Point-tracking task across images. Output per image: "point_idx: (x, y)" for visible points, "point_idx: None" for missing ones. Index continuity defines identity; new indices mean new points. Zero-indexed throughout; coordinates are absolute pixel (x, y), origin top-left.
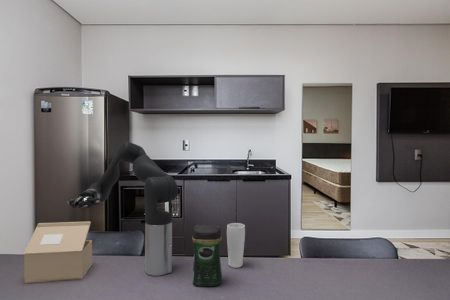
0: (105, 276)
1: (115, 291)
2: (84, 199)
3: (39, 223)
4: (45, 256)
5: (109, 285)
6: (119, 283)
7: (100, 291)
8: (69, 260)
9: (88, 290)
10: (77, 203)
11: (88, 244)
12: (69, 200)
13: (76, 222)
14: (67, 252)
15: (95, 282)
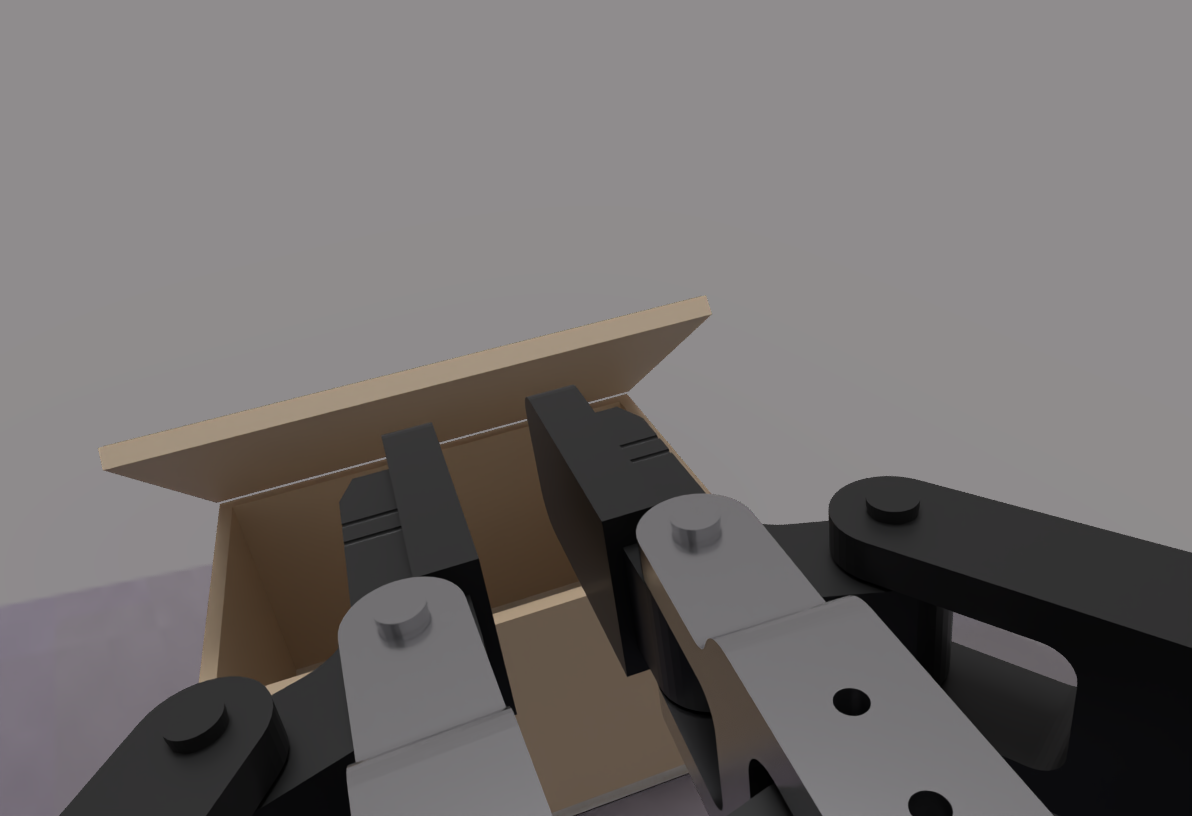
0: (111, 747)
1: (35, 624)
2: (467, 728)
3: (691, 298)
4: (493, 447)
5: (73, 662)
6: (3, 694)
7: (126, 606)
8: (334, 529)
9: (200, 598)
10: (596, 558)
11: (206, 619)
12: (1127, 555)
13: (284, 403)
14: (330, 470)
15: (175, 668)
